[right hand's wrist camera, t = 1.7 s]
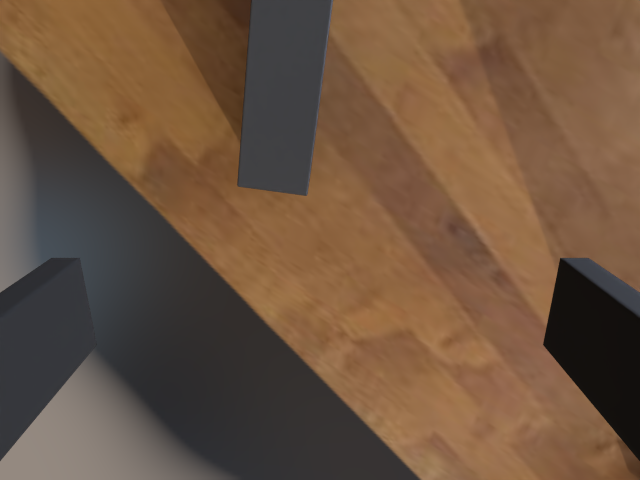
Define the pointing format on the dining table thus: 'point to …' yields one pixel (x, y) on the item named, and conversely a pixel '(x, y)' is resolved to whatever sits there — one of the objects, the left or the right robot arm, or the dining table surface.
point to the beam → (282, 93)
